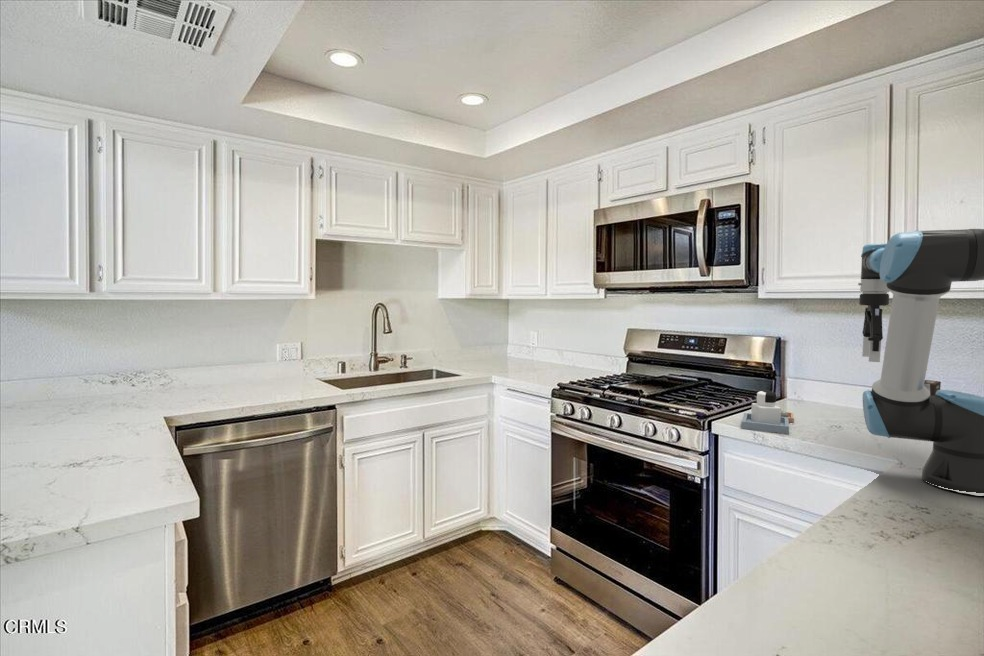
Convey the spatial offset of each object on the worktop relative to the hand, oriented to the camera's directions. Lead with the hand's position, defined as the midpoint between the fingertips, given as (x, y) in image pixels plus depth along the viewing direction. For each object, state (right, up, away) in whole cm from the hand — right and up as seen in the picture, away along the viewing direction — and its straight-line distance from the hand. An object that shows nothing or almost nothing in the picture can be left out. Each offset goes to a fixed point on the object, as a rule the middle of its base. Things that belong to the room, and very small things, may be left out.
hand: (870, 359), depth 162 cm
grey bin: (-24, -25, +19) cm, 40 cm away
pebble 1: (-12, -22, +31) cm, 40 cm away
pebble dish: (-13, -25, +29) cm, 40 cm away
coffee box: (+35, -25, +20) cm, 47 cm away
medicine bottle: (-24, -25, +19) cm, 39 cm away
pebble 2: (-13, -23, +27) cm, 37 cm away
